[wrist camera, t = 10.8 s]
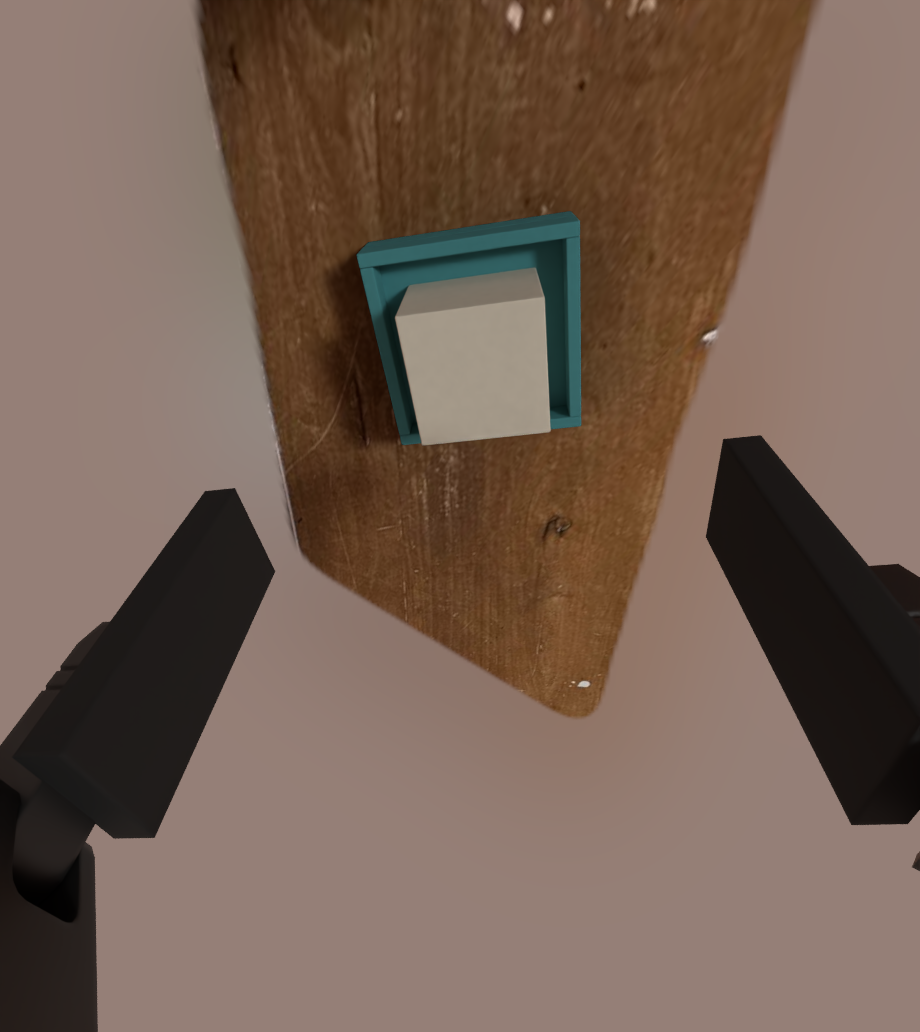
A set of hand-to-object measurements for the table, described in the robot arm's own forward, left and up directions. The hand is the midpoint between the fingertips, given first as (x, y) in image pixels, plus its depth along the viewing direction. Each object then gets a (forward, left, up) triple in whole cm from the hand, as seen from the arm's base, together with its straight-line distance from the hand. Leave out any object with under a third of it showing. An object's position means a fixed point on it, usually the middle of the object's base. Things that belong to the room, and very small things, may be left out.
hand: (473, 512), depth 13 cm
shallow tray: (0, 0, -13) cm, 13 cm away
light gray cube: (0, 0, -12) cm, 12 cm away
